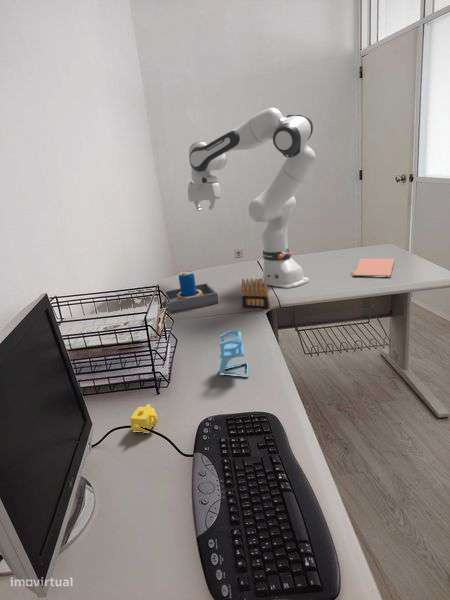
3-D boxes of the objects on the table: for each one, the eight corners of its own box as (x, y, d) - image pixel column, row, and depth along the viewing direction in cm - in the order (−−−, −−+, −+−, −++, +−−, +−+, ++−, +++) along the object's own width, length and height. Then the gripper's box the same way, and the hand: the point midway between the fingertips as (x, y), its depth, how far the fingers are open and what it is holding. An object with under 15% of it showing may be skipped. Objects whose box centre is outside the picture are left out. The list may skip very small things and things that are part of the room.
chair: (220, 366, 118) (215, 328, 114) (248, 363, 118) (244, 326, 114) (219, 380, 111) (213, 340, 107) (249, 377, 111) (245, 338, 107)
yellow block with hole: (151, 442, 90) (147, 422, 88) (128, 439, 91) (123, 420, 90) (165, 419, 97) (162, 401, 95) (143, 418, 99) (139, 399, 97)
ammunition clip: (270, 307, 158) (267, 277, 154) (268, 309, 156) (266, 279, 152) (244, 306, 162) (241, 277, 158) (242, 308, 160) (239, 279, 156)
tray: (164, 301, 178) (162, 291, 176) (208, 292, 183) (206, 283, 181) (171, 313, 163) (169, 302, 162) (218, 303, 169) (217, 292, 167)
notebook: (358, 261, 205) (358, 257, 204) (394, 262, 197) (394, 258, 197) (349, 278, 182) (349, 274, 181) (390, 279, 175) (390, 274, 174)
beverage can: (182, 298, 176) (178, 272, 172) (197, 296, 176) (193, 269, 172) (182, 303, 170) (178, 276, 166) (197, 301, 170) (193, 274, 166)
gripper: (183, 182, 194) (187, 212, 197) (210, 178, 178) (214, 210, 182) (193, 181, 197) (197, 210, 201) (221, 177, 182) (224, 208, 186)
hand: (205, 210), depth 191 cm, fingers open, 8 cm apart
